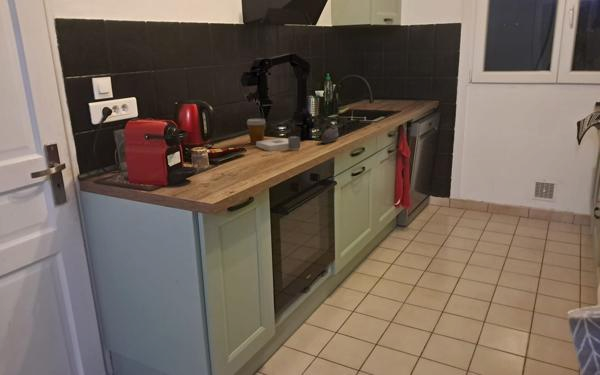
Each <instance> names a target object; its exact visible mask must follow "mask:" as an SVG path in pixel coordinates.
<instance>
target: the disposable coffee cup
mask: <svg viewBox="0 0 600 375" xmlns="http://www.w3.org/2000/svg"><path fill="white" fill-rule="evenodd" d="M246 125H247V129H248V135H249V140H250V144H251V145H255V146H256V141H264V139H265V137H264V136H265V128H266V127H265V126H266V119H264V118H249V119H247V121H246Z"/></svg>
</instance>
